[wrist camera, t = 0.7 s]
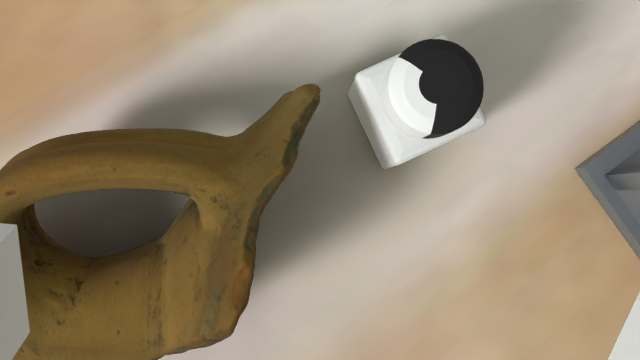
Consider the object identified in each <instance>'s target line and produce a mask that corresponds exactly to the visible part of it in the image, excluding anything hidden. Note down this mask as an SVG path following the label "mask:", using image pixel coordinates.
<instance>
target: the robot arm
mask: <svg viewBox="0 0 640 360" xmlns="http://www.w3.org/2000/svg"><path fill="white" fill-rule="evenodd" d="M29 333H30V329H29V321H28V312H27V304H26V296H25V287H24V279H23V271H22V263H21V254H20V246H19V238H18V229H17V225H14V224H3V223H0V360H12V359H13V357H14V356H15V354H16V353H17V351H18V350H19V348H20V347H21V345H22V344H23V342H24V340H25V339H26V337H27V336H28V334H29ZM608 360H640V292H639V294H638V297H637V299H636V301H635V303H634V305H633V307H632V309H631V312H630V314H629V316H628V318H627V320H626V322H625V324H624V326H623V329H622V331H621V333H620V335H619V337H618V339H617V341H616V343H615V346H614V348H613V350H612V352H611V354H610V356H609V358H608Z"/></svg>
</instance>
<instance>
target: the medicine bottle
mask: <svg viewBox="0 0 640 360" xmlns="http://www.w3.org/2000/svg"><path fill="white" fill-rule="evenodd" d="M483 89H484V86H483V78H482V73H481V71H480V68H479V66H478V64H477V62H476V61H475V59H474V58H473V57H472V55H471V54H470V53H469V52H468V51H466V50H465V49H464V48H463V47H461V46H459V45H458V44H456V43H453V42H451V41H449V40H448V38H447V37H446V36H445V35H439V36H437V37H435V38H433V39H428V40H423V41H420V42H417V43H415V44H413V45H411V46H410V47H408V48H407V49H406V50H404V51H403V52H402V53H400V54H397V55H395V56H393V57H391V58H389V59H386V60H384V61H382V62H380V63H377V64H375V65H373V66H371V67H369V68H366V69H364V70H362V71H360V72H358V73H357V74H356V76H355V78H354V81H353V83H352V85H351V87H350V89H349V92H348V96H349V98H350V100H351V102H352V105H353V107H354V109H355V111H356V113H357V115H358V118H359V120H360V122H361V124H362V126H363V128H364V131H365V133H366V135H367V137H368V139H369V141H370V143H371V146H372V148H373V150H374V152H375V154H376V156H377V159H378V161H379V163H380V165H381V167H382V168H383V169H388V168H391V167H394V166H397V165H400V164H402V163H404V162H407V161H409V160H411V159H413V158H415V157H417V156H420V155H422V154H424V153H426V152H428V151H430V150H432V149H435V148H437V147H439V146H441V145H443V144H445V143H448V142H450V141H452V140H454V139H456V138H458V137H461V136H463V135H465V134H467V133H469V132H471V131H474V130H476V129H478V128H480V127H482V126H484V125H485V122H486V120H485V118H484V115H483V113H482V111H481V109H480V104H481V101H482V97H483Z"/></svg>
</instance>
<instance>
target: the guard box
mask: <svg viewBox="0 0 640 360" xmlns="http://www.w3.org/2000/svg"><path fill="white" fill-rule="evenodd" d="M575 170H576V171H577V173H578V174H579V175H580V177H581V178H582V180H583V181H584V182H585V184H586V185H587V186H588V188H589V189H590V191H591V192H592V193H593V195H594V196H595V198H596V199H597V200H598V202H599V203H600V204H601V206H602V207H603V209H604V210H605V211H606V213H607V214H608V216H609V217H610V218H611V220H612V221H613V223H614V224H615V225H616V227H617V228H618V229H619V231H620V232H621V234H622V235H623V236H624V238H625V239H626V241H627V242H628V243H629V245H630V246H631V248H632V249H633V250H634V252H635V253H636V254H637V256H638V257H639V259H640V121H639V122H637V123H636V124H634V125H633V126H632V127H630V128H629V129H628V130H626V131H625V132H624V133H622V134H621V135H619V136H618V137H617V138H615V139H614V140H613V141H611V142H610V143H609V144H607V145H606V146H604V147H603V148H602V149H600V150H599V151H598V152H596V153H595V154H594V155H592V156H591V157H590V158H588V159H587V160H585V161H584V162H583V163H581V164H580V165H579V166H577V167H576V168H575Z"/></svg>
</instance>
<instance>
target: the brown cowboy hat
mask: <svg viewBox="0 0 640 360" xmlns="http://www.w3.org/2000/svg"><path fill="white" fill-rule="evenodd" d="M319 94H320V88H319V86H317V85H315V84H306V85H303V86H301V87H299V88H297V89H296V90H295V91H291V92H288V93H286V94H284V95H283V96H282V97H281V98H280V99H279V100H278V102H277V103H276V104H275V105H274V106H273V107H272V108H271V109H270V110H269V111H268V112H267V113H266V114H265V115H264V116H263V117H261V118H260V119H259V120H258V121H257V122H255V123H254V124H253V125H251V126H250V127H249V128H247V129H246V130H245V131H244V132H242V133H240V134H238V135H235V136H231V137H223V136H217V135H213V134H209V133H204V132H197V131H190V130H179V129H116V130H102V131H90V132H83V133H77V134H70V135H65V136H61V137H57V138H53V139H49V140H47V141H44V142H41V143H39V144H37V145H35V146H32V147H31V148H29V149H27V150H24V151H22V152H20V153H19V154H17V155H16V156H15V157H13V158H12V159H11V160H10V161H9V162H8V163H7V164H6V165H5V166H4V167H3V168H2V169H1V170H0V223H3V224H14V225H17V229H18V238H19V246H20V254H21V263H22V271H23V279H24V287H25V296H26V304H27V312H28V321H29V329H30V333H29V334H28V336H27V337H26V339H25V340H24V342H23V344H22V345H21V347H20V348H19V350H18V351H17V353H16V354H15V356H14V357H13V359H12V360H158V359H160V358H161V357H163V356H164V355H170V354H177V353H183V352H186V351H188V350H192V349H197V348H202V347H208V346H211V345H213V344H215V343H217V342H220V341H222V340H224V339H226V338H228V337H229V336H231V335H232V333H233V332H234V329H235V327H236V325H237V322H238V320H239V317H240V315H241V314H242V313H243V311H244V310H245V308H246V306H247V304H248V300H249V295H250V288H251V284H252V280H253V274H254V268H255V256H256V238H257V233H258V226H259V219H260V216H261V214H262V212H263V210H264V208H265V206H266V205H267V203H268V202H269V200H270V198H271V197H272V195H273V194H274V192H275V191H276V190H277V188H278V187H279V185H280V184H281V182H282V181H283V180H284V179H285V178H286V176H287V175H288V174H289V172H290V171H291V169H292V167H293V165H294V162H295V160H296V158H297V154H298V147H299V143H300V140H301V138H302V136H303V134H304V131H305V129H306V127H307V125H308V123H309V121H310V119H311V117H312V115H313V113H314V111H315V110H316V108H317V107H318V105H319V102H320V95H319ZM122 188H134V189H154V190H164V191H171V192H175V193H179V194H182V195H185V196H187V197H189V198H190V199H189V201H188V202H187V204H186V205H185V207H184V208H183V210H182V211H181V212H180V213H179V214H178V216H177V217H176V218H175V219H174V221H173V223H172V225H171V226H170V228H169V229H168V230H167V232H166V233H165V234H164V235H163V236H162V237H160V238H158V239H155V240H153V241H151V242H149V243H147V244H144V245H142V246H139V247H137V248H134V249H131V250H129V251H126V252H123V253H119V254H115V255H111V256H107V257H100V258H89V257H85V256H80V255H77V254H75V253H73V252H71V251H69V250H68V249H66V248H64V247H61V246H60V245H59V244H58V243H56V242H55V241H54V240H53V239H51V238H50V237H49V236H48V235H47V234H46V233H45V232H44V230H43V229H42V228H41V226H40V224H39V222H38V220H37V218H36V215H35V209H34V203H35V202H38V201H40V200H43V199H46V198H50V197H53V196H58V195H63V194H69V193H74V192H82V191H92V190H101V189H122Z"/></svg>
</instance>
